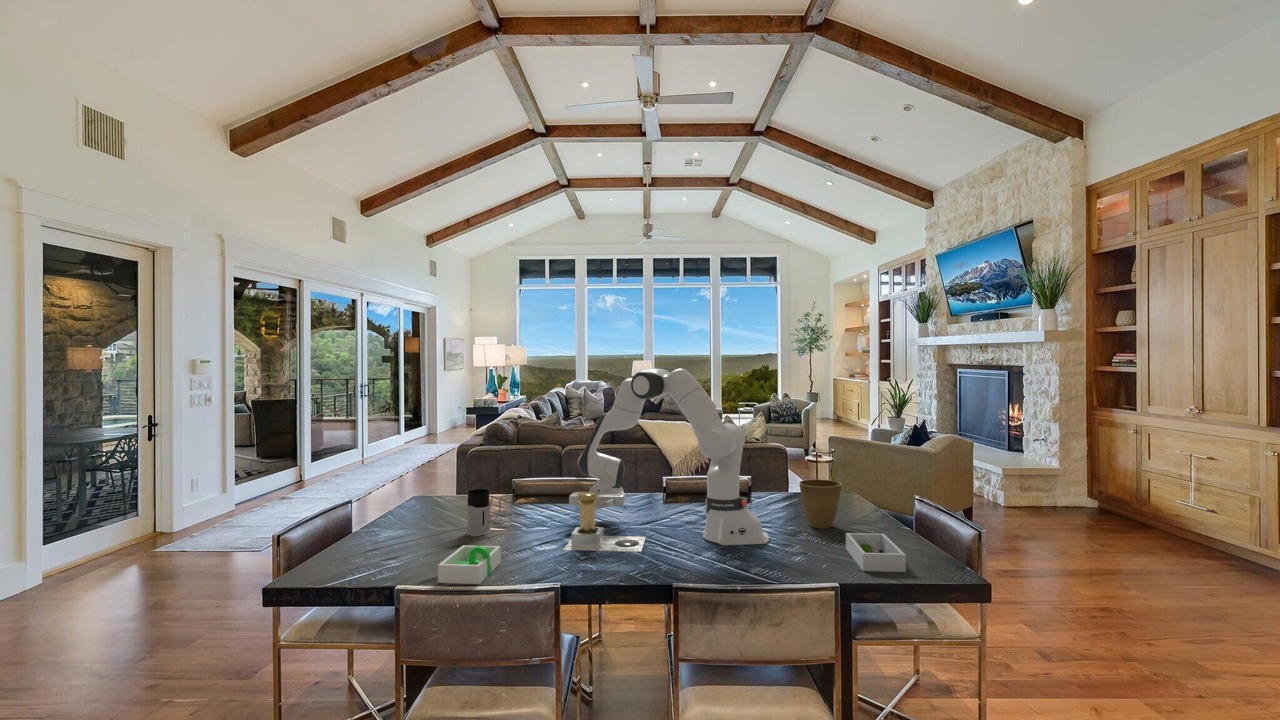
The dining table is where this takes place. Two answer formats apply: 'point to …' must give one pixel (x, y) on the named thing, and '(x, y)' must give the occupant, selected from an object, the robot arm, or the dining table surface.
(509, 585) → the dining table surface
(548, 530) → the dining table surface
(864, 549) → the decorative flower
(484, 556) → the mechanical part
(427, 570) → the dining table surface
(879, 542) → the flower tray
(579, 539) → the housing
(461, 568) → the parts tray
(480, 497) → the glass holder
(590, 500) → the brass flanged pin
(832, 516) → the plant pot
